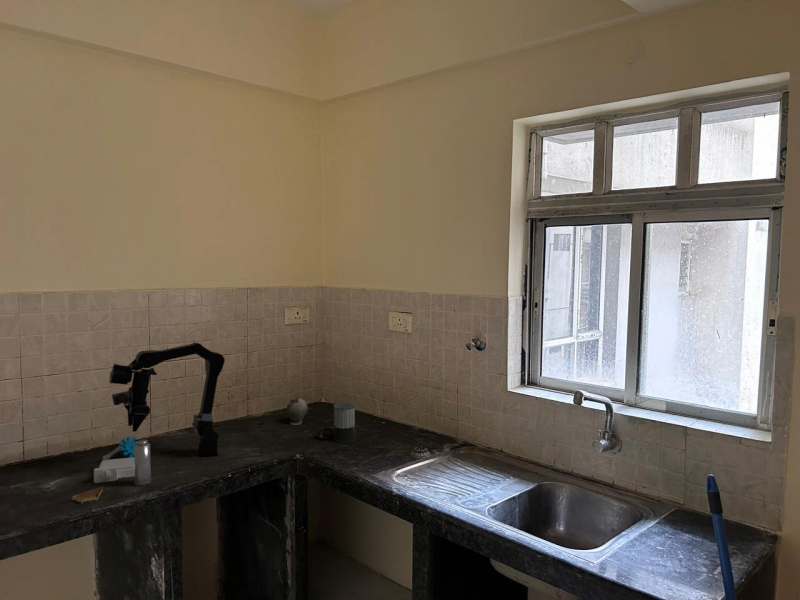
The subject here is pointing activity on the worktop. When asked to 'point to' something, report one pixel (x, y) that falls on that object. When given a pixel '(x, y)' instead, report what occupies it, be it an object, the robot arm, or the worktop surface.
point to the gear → (128, 446)
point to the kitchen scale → (114, 470)
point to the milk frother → (341, 424)
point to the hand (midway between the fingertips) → (132, 428)
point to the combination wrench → (112, 453)
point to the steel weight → (142, 462)
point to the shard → (88, 495)
